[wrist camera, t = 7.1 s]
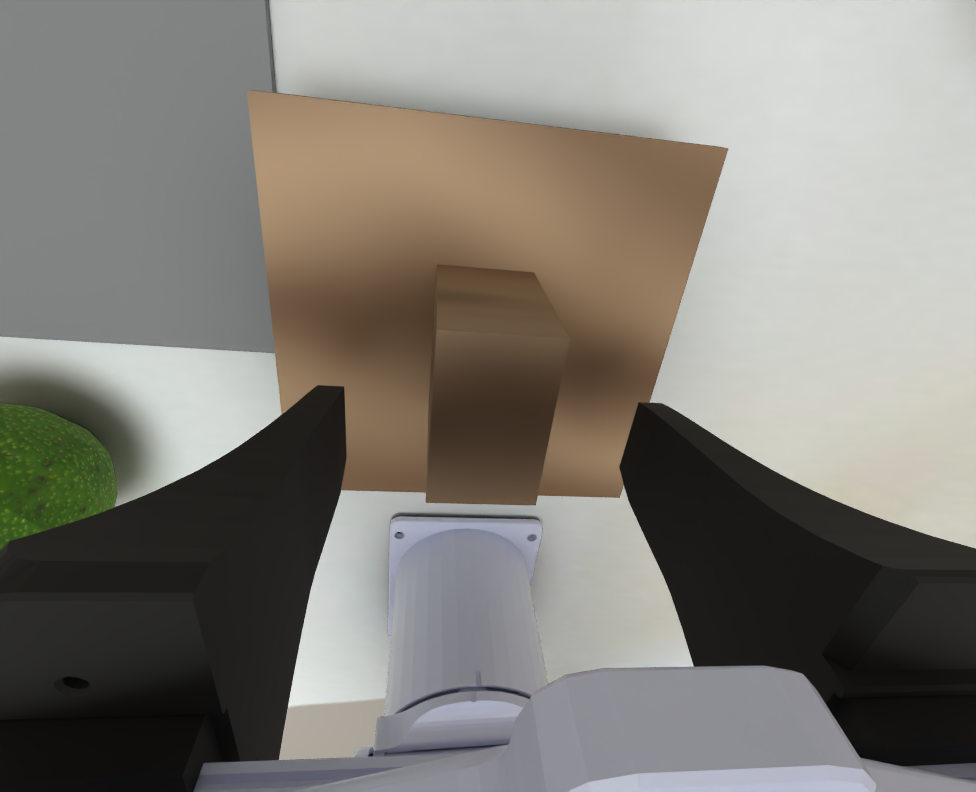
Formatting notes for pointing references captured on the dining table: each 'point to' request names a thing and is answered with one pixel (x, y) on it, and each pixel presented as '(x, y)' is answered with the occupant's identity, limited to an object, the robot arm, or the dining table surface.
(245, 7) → the mat
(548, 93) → the dining table surface
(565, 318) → the cover board
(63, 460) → the avocado
